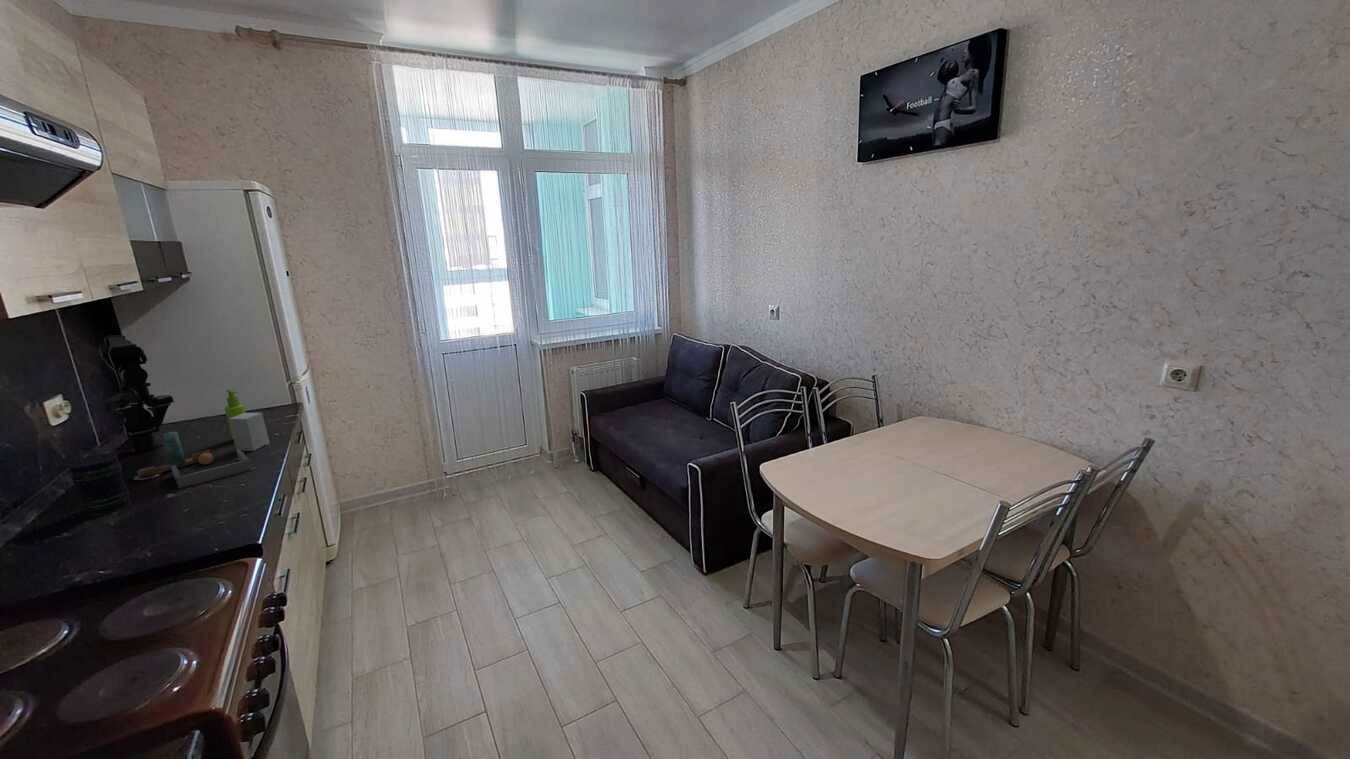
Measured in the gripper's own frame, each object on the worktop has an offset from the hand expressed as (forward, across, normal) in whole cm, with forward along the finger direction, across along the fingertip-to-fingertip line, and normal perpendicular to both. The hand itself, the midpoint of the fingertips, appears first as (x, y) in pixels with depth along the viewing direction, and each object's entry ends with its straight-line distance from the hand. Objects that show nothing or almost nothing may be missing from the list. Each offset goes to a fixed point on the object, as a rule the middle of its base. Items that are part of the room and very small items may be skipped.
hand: (147, 426), depth 183 cm
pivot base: (+15, +6, -9) cm, 18 cm away
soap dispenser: (+14, +8, +25) cm, 30 cm away
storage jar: (+16, +15, -30) cm, 37 cm away
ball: (+13, +17, +1) cm, 21 cm away
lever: (+14, +9, -2) cm, 17 cm away
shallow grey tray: (+16, +25, -6) cm, 30 cm away
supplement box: (+15, +20, +16) cm, 30 cm away
